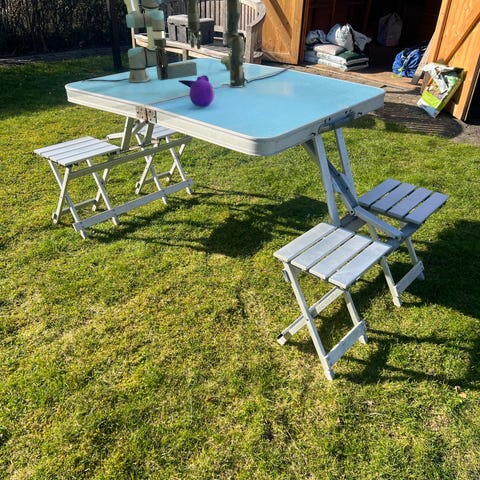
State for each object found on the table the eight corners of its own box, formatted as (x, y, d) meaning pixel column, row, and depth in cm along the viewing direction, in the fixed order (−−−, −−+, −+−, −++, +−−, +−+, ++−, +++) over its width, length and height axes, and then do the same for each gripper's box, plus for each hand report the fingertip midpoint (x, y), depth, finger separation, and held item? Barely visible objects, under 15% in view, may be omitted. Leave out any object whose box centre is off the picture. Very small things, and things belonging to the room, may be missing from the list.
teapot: (224, 71, 365) (223, 52, 358) (217, 69, 374) (217, 50, 366) (247, 69, 374) (246, 49, 367) (240, 67, 383) (239, 48, 375)
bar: (161, 80, 285) (159, 67, 281) (157, 79, 289) (156, 66, 285) (197, 75, 297) (196, 62, 293) (193, 74, 301) (192, 61, 297)
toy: (202, 97, 286) (214, 113, 266) (175, 93, 279) (186, 108, 258) (208, 72, 278) (220, 86, 258) (180, 67, 271) (191, 81, 250)
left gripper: (171, 39, 272) (175, 79, 283) (159, 36, 285) (163, 75, 297) (160, 40, 268) (164, 80, 280) (148, 37, 282) (152, 76, 294)
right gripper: (204, 20, 279) (206, 48, 287) (193, 19, 290) (195, 46, 298) (193, 21, 276) (195, 50, 284) (183, 20, 286) (185, 47, 295)
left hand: (163, 77), depth 288 cm, fingers closed on bar, 5 cm apart
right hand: (195, 48), depth 291 cm, fingers open, 8 cm apart
